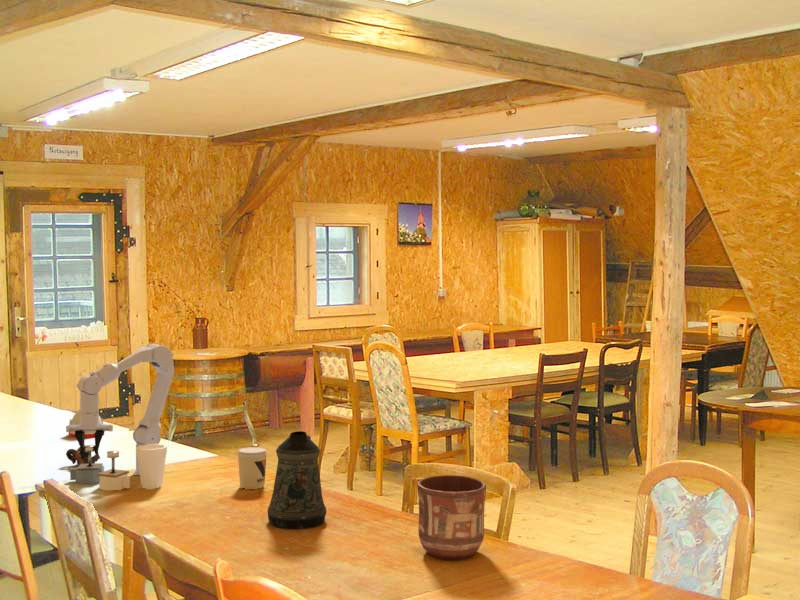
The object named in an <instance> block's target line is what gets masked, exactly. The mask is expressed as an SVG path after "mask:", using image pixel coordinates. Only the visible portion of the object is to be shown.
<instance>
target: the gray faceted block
mask: <svg viewBox="0 0 800 600" xmlns="http://www.w3.org/2000/svg"><path fill="white" fill-rule="evenodd" d="M103 464H104V463H102V462H101V463H94V464H91V467H88V464H80V465H79V464H78V465H79V467H78V466H77V467H75V468H74V467H72V468H71V467H70V470H69V471H70V473H69V474H70V479H69V480H70V481H75V484H79V483H80V485H92V484H91V483H95V484H98V483H97V482H99V476H98V475H97V473H100V472H104V471H105V466H104V465H103Z"/></svg>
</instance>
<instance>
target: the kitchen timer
mask: <svg viewBox="0 0 800 600" xmlns="http://www.w3.org/2000/svg"><path fill="white" fill-rule="evenodd" d="M103 419H104V418H102V417H101V416H100V415H99V424H104V420H103ZM68 425H80V409H78V410H77V411H76V412H75V413H74V415H73V417H72V418H70V419H69V423H68ZM83 430H85V429H83ZM90 430H93V429H90ZM95 432H96V431H85V439H92V438H93V439H95V435H94V433H95ZM104 435H105V433H104V434H103V436H104ZM68 437H69V438H72V439H76V437H75V432H68Z"/></svg>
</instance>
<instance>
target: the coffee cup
mask: <svg viewBox="0 0 800 600" xmlns="http://www.w3.org/2000/svg"><path fill="white" fill-rule="evenodd" d="M267 454H268V451H267V450H266V448H264V447H257V446H256V447H255V446H251V447H250V446H249V447H243V448H240V449H239V450H238V452H237V458H238V473H239V474H238V476H239V487H240V489H242V488H245V489H244V490H247V489H255V490H259V489H258V488H261V489H263V488H265V483H266V467H267ZM262 487H263V488H262Z"/></svg>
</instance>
